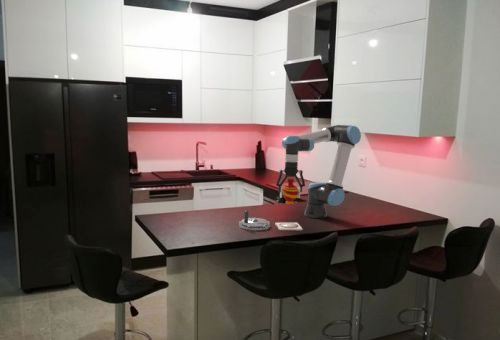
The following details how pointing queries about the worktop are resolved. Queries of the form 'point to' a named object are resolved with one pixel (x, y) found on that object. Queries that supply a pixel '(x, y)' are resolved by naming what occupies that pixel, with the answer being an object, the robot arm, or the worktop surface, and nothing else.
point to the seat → (288, 226)
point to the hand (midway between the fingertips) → (289, 197)
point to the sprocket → (253, 221)
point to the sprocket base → (254, 228)
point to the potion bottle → (290, 191)
